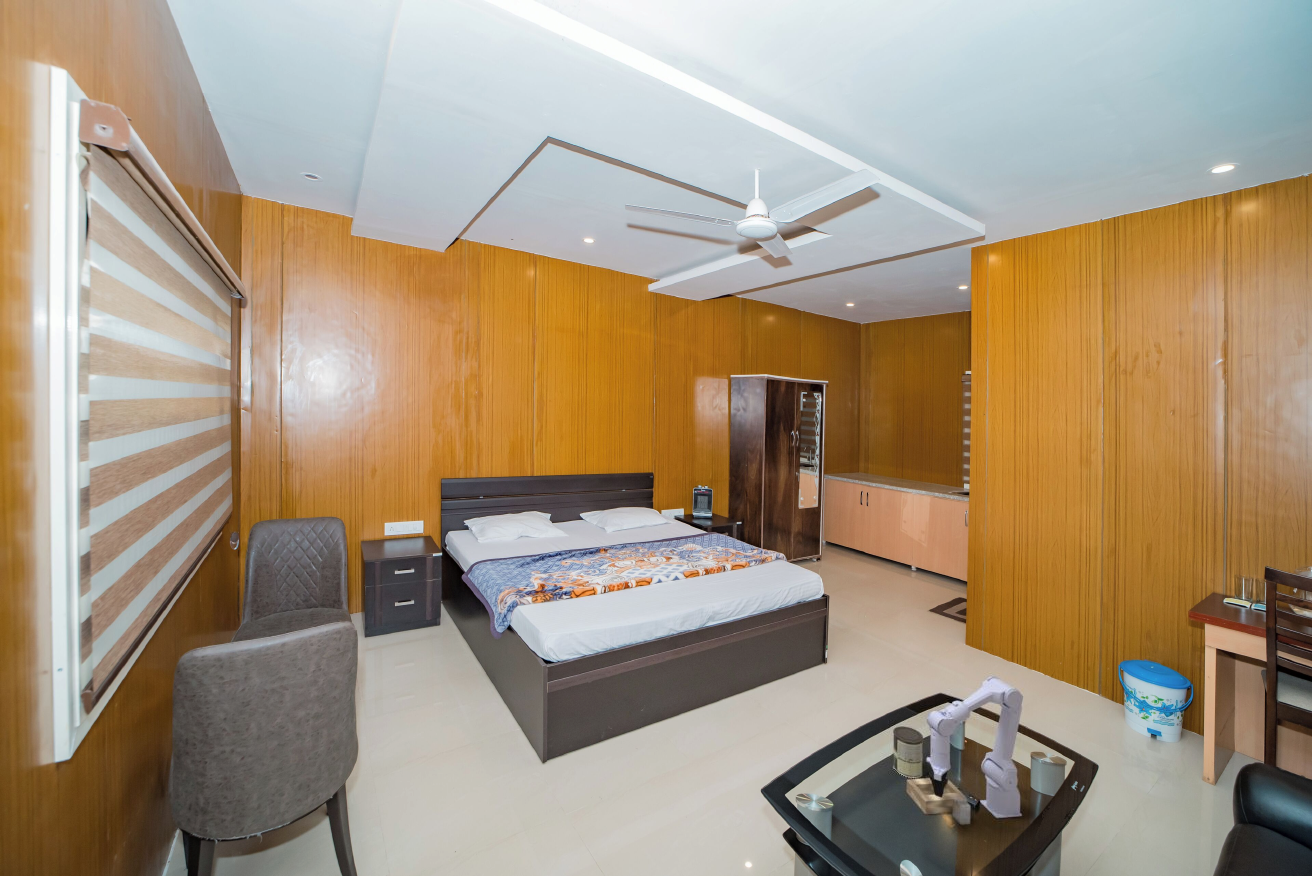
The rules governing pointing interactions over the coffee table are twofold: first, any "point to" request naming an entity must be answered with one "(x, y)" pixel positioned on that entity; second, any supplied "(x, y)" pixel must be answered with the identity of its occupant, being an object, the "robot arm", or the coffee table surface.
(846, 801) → the coffee table surface
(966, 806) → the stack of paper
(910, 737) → the coffee can
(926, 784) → the tan wooden rectangular frame
